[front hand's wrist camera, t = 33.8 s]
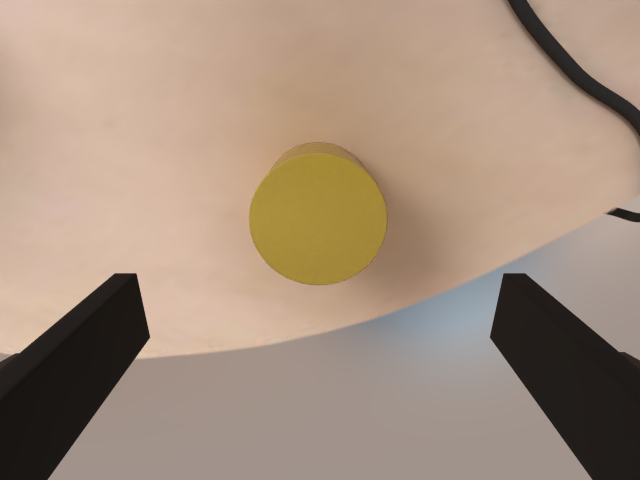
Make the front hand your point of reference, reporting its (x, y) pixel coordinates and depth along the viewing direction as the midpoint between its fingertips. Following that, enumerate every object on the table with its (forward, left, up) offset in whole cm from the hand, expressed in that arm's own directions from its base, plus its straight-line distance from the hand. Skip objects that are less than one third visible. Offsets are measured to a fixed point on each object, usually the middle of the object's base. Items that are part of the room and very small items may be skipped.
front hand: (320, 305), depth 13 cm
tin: (0, 0, -18) cm, 18 cm away
